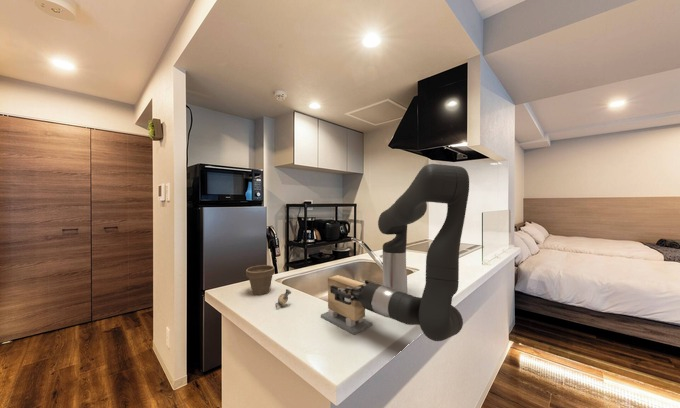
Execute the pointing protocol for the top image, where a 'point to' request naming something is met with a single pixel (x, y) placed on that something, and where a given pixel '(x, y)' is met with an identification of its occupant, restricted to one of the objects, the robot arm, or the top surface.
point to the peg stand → (346, 322)
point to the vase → (283, 299)
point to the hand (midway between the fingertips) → (341, 285)
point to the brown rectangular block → (349, 311)
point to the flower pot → (260, 278)
